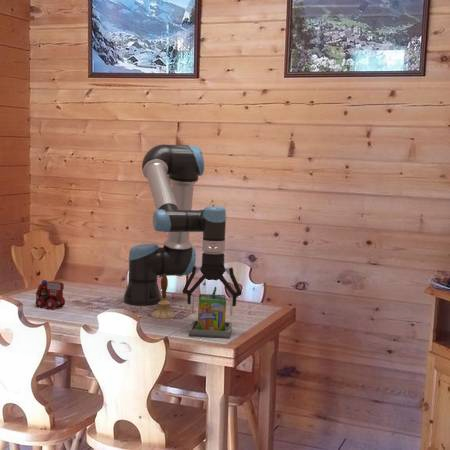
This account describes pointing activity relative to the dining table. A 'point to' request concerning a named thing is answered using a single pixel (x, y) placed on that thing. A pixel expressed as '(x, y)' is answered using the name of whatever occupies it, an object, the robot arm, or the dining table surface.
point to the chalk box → (211, 312)
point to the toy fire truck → (50, 295)
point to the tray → (209, 331)
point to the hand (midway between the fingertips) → (211, 314)
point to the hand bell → (163, 303)
